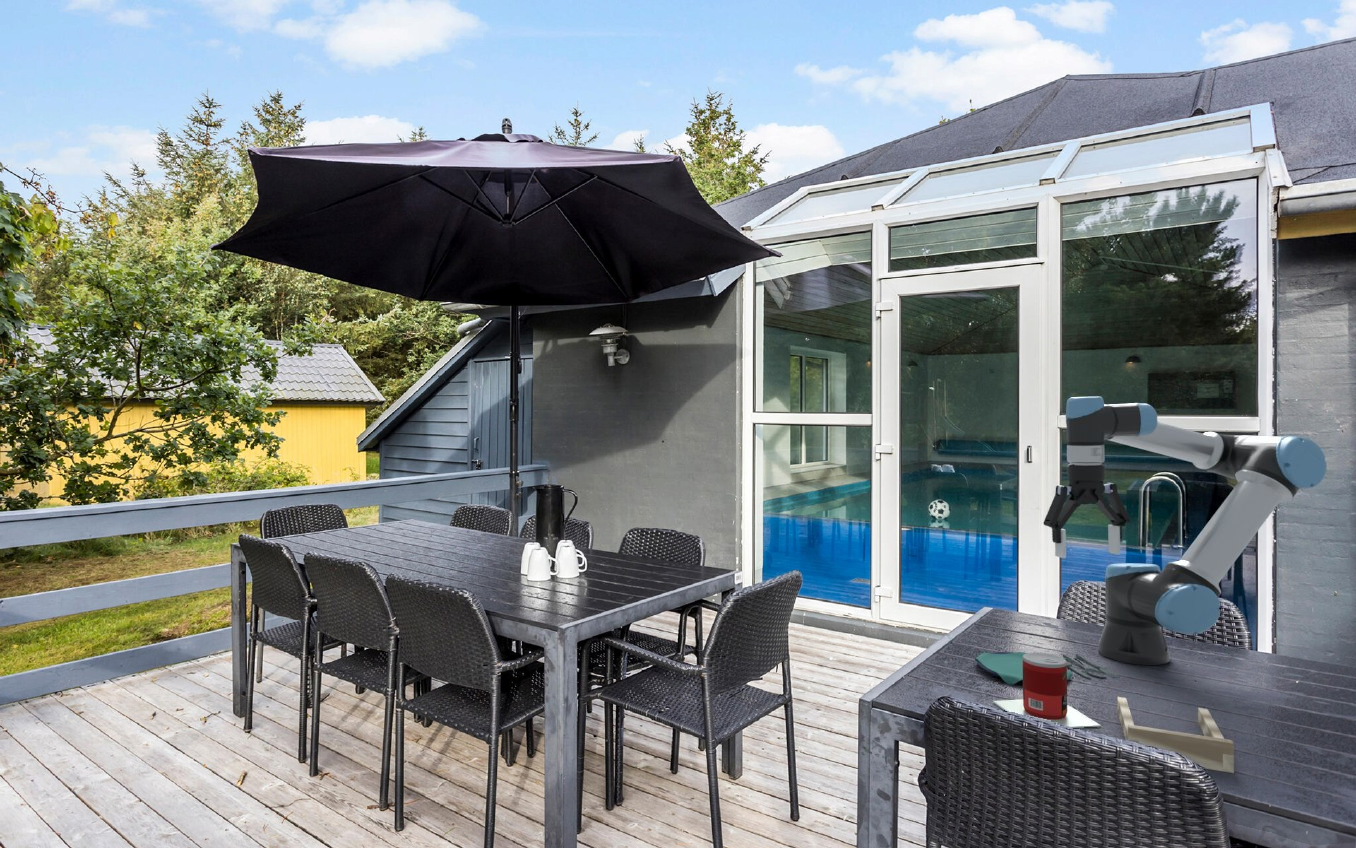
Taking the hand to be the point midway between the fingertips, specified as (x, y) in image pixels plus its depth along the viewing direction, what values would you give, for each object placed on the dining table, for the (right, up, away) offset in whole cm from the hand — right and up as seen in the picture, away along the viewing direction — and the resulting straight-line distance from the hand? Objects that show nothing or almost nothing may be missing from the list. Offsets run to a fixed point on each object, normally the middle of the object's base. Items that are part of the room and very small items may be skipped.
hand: (1087, 555), depth 166 cm
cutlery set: (-8, -29, +5) cm, 30 cm away
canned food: (-20, -28, -20) cm, 40 cm away
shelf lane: (-3, -28, -32) cm, 43 cm away
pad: (-20, -29, -20) cm, 41 cm away
